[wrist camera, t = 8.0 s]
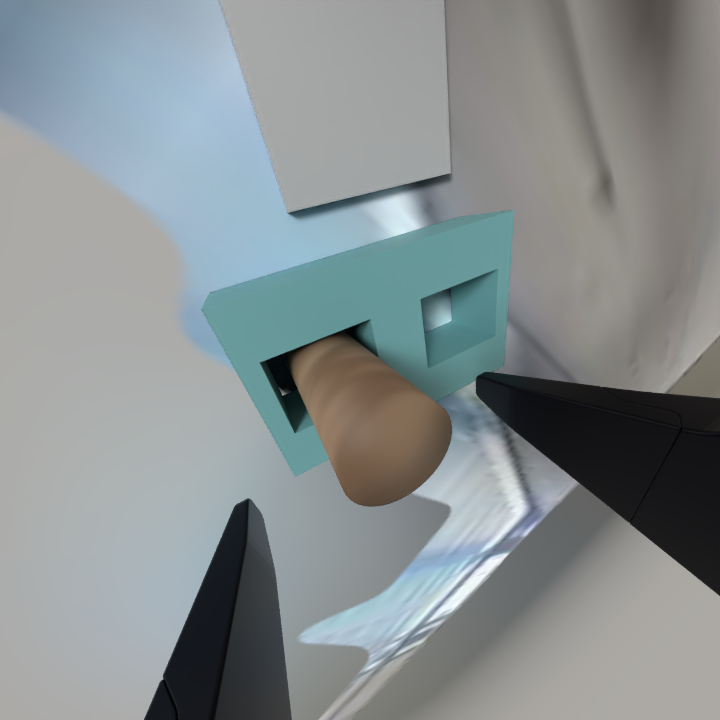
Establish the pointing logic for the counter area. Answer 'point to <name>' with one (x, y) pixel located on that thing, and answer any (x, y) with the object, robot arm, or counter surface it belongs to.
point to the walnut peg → (369, 419)
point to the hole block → (373, 317)
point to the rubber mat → (345, 92)
